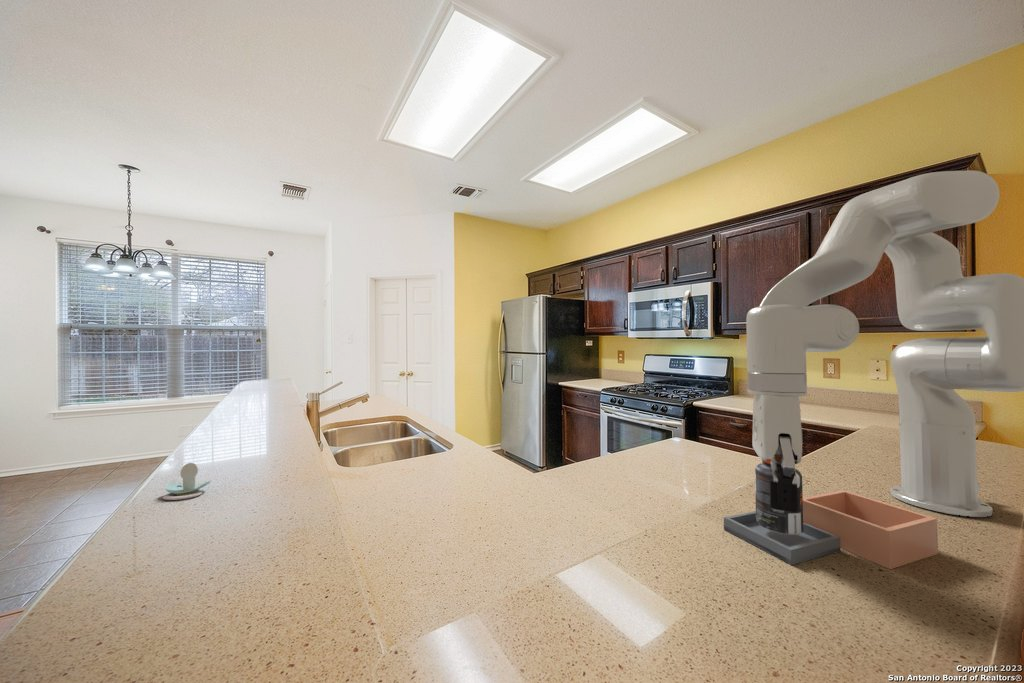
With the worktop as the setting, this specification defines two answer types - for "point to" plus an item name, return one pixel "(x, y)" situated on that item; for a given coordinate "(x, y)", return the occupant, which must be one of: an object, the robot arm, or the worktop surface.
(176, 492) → the pacifier
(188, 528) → the worktop surface
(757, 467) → the pill bottle
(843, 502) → the frame
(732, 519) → the charcoal tray
